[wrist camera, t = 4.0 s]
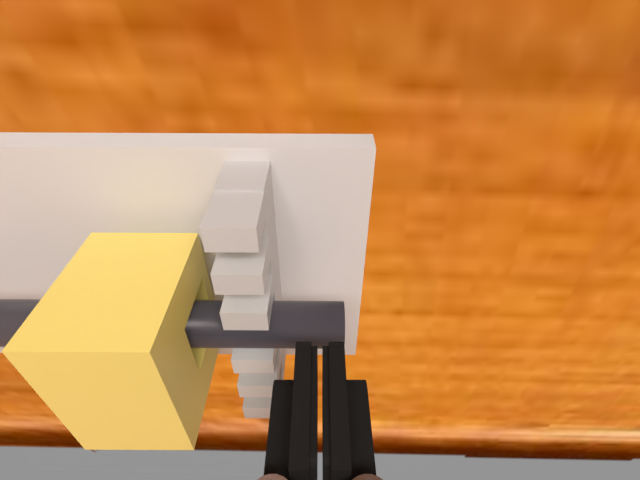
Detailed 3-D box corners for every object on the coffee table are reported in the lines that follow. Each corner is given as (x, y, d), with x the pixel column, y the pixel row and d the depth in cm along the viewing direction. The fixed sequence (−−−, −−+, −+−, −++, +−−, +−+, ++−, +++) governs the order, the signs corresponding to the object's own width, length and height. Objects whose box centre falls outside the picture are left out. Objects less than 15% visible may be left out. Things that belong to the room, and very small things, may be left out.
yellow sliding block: (198, 233, 15) (149, 352, 10) (222, 333, 18) (193, 450, 14) (91, 232, 15) (1, 351, 10) (137, 333, 18) (85, 449, 14)
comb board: (372, 134, 14) (394, 222, 10) (354, 336, 22) (361, 436, 18) (-195, 131, 14) (-414, 218, 10) (-19, 334, 22) (-102, 433, 18)
